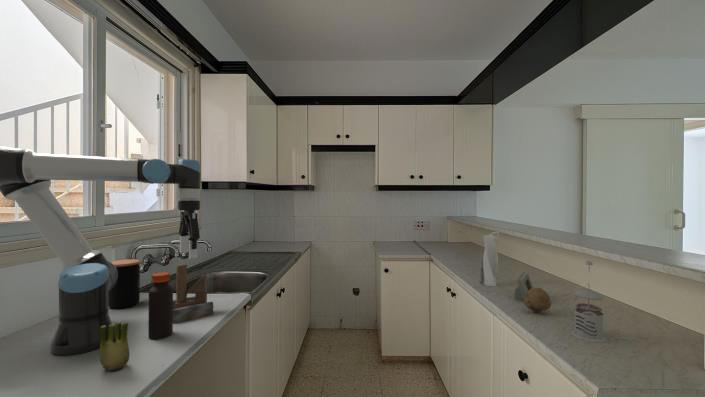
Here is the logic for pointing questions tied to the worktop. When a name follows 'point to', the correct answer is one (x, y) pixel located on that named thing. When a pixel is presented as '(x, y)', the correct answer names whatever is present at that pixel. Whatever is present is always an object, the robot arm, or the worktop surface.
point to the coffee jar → (125, 285)
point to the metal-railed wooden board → (192, 311)
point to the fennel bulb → (114, 347)
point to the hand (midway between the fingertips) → (188, 255)
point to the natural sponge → (537, 300)
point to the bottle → (160, 307)
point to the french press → (588, 316)
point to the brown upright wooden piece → (181, 289)
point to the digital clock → (523, 286)
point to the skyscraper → (490, 261)
